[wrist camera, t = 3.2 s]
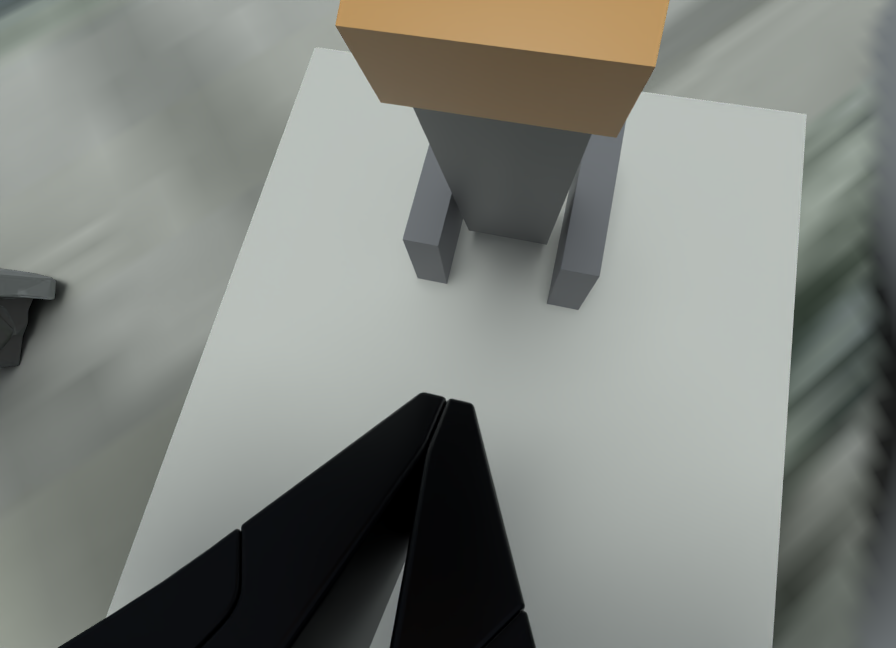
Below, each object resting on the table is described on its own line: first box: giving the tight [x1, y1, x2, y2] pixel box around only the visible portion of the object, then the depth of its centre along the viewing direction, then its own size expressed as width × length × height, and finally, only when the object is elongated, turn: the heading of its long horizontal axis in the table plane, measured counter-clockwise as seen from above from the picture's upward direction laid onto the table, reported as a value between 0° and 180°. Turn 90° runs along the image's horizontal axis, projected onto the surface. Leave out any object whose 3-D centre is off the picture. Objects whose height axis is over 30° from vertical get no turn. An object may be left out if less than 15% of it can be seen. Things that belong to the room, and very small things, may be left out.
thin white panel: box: [106, 47, 806, 648], centre depth 15 cm, size 22×18×6 cm
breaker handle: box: [335, 0, 669, 245], centre depth 10 cm, size 2×3×11 cm, turn 77°
